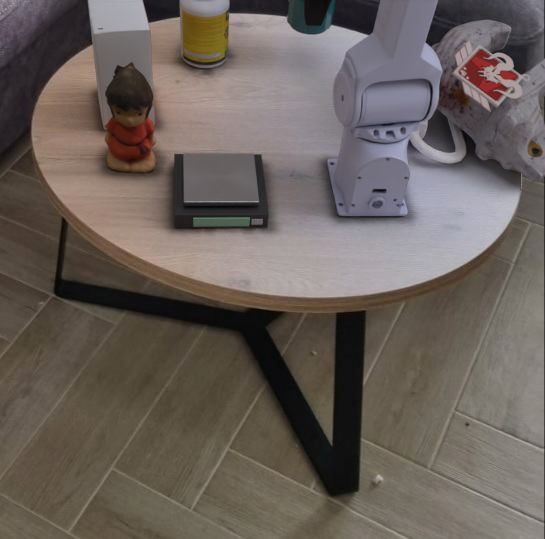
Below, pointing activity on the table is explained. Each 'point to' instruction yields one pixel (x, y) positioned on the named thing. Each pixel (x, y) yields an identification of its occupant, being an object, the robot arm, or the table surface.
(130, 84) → the figurine
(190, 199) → the pan
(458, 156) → the white looped part
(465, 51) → the decorative emblem
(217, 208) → the scale base
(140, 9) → the small box
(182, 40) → the pill bottle
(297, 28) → the cup
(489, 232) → the table surface
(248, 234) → the table surface
